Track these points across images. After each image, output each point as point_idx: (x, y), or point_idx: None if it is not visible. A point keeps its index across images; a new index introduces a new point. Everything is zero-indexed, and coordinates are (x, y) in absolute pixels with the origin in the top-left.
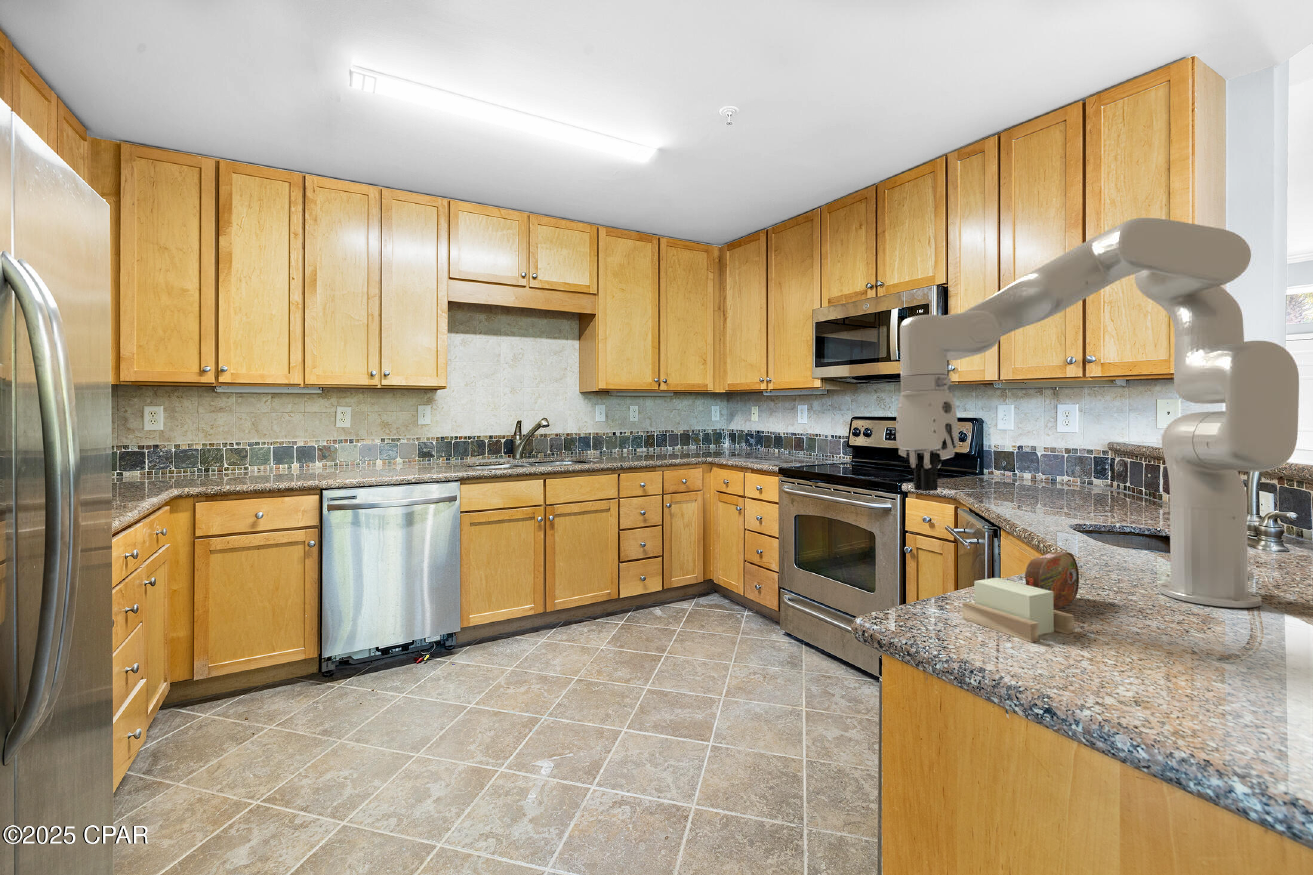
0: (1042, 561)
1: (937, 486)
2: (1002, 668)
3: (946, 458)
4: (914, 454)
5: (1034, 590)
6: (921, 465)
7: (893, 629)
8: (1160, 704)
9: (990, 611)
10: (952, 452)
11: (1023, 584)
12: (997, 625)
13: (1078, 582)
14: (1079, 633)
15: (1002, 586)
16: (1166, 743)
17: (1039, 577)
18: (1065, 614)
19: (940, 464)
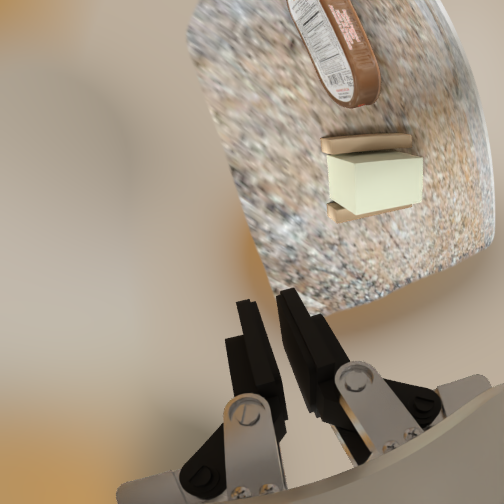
0: (374, 73)
1: (297, 293)
2: (414, 265)
3: (440, 386)
4: (287, 488)
5: (412, 174)
6: (284, 422)
7: (322, 305)
8: (468, 213)
9: (372, 214)
10: (484, 391)
11: (392, 161)
12: None
13: None
14: (401, 129)
15: (388, 198)
16: (474, 249)
17: (375, 101)
18: (407, 140)
19: (375, 372)
